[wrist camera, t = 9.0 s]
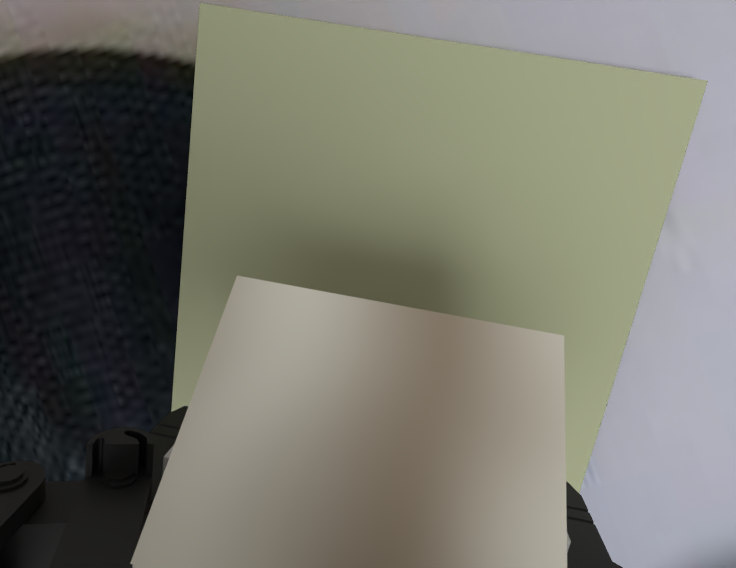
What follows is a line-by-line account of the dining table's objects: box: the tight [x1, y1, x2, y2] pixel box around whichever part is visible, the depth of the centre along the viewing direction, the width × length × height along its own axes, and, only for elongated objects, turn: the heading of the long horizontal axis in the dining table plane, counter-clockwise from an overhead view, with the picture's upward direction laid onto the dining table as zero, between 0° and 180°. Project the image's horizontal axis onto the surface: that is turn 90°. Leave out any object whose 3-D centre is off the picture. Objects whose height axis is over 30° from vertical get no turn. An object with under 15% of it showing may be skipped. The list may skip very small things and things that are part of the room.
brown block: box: [130, 276, 567, 568], centre depth 14 cm, size 7×7×11 cm
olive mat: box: [171, 3, 708, 493], centre depth 21 cm, size 18×18×1 cm
